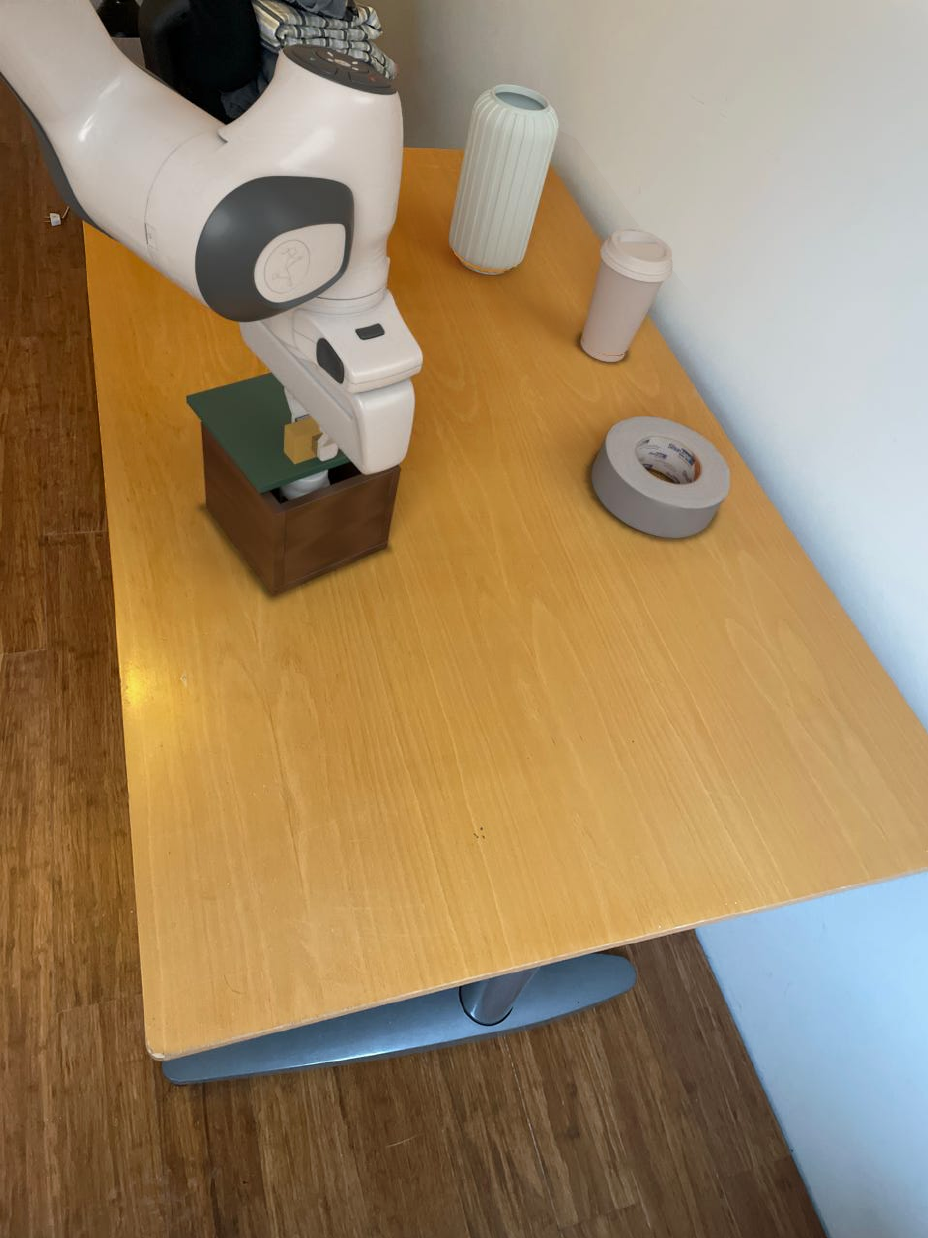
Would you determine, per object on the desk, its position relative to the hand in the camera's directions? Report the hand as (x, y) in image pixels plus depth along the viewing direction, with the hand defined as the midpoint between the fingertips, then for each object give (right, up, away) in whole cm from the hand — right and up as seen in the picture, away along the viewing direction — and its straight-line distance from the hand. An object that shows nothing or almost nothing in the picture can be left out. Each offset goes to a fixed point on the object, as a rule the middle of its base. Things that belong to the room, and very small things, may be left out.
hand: (314, 443), depth 72 cm
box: (-4, -6, +11) cm, 13 cm away
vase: (+16, +38, +50) cm, 65 cm away
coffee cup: (+32, +22, +42) cm, 58 cm away
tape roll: (+36, 0, +26) cm, 44 cm away
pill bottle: (-3, -7, +10) cm, 12 cm away
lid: (-3, +2, +3) cm, 5 cm away
